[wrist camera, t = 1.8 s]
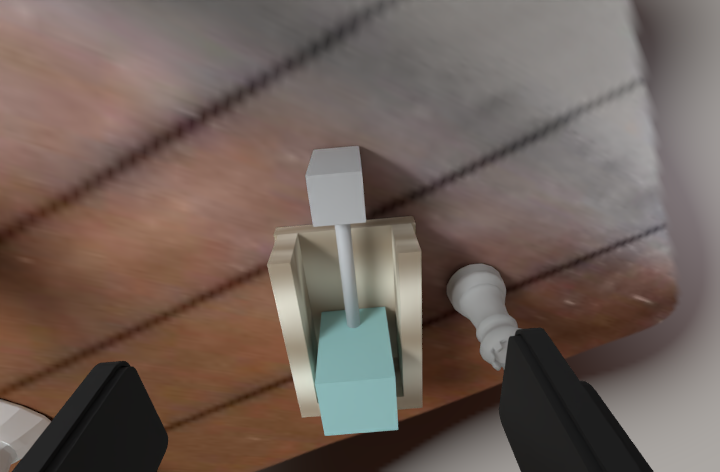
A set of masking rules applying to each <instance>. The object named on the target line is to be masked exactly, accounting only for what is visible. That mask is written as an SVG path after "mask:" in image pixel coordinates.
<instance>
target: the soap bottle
mask: <svg viewBox="0 0 720 472" xmlns="http://www.w3.org/2000/svg"><path fill="white" fill-rule="evenodd" d="M50 423H51V420H49V419H48V418H47V417H46V416H44V415H42V414H40V413H38V412H35V411H33V410H31V409H29V408H26V407H24V406H21V405H18V404H15V403H12V402H8V401H5V400H2V399H0V472H9V469H10V465H11V464H13V463H15V462H17V461H18V460H20V459H22V458H23V457H24V456H25V454H26V453H27V452H28V451H29V449H30V448H31V447H32V445H33V444H34V443H35V442H36V440H37V439H38V438H39V437H40V435H41V434H42V433H43V431H44V430H45V429H46V428H47V426H48V425H49V424H50Z"/></svg>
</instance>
